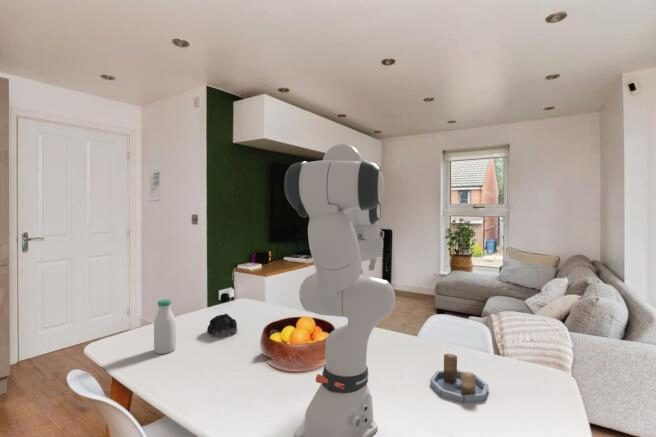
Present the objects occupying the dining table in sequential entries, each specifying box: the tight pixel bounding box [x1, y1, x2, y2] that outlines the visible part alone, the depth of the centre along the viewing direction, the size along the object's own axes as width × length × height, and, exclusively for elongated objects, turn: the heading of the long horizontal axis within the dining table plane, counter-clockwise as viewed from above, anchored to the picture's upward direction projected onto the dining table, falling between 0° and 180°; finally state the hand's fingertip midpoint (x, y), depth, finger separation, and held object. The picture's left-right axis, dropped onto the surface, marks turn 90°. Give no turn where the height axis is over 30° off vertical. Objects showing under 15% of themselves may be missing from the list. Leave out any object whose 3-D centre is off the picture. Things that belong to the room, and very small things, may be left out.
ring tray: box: [429, 369, 489, 403], centre depth 107 cm, size 16×16×3 cm
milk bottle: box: [153, 299, 177, 355], centre depth 136 cm, size 8×8×20 cm
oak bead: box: [461, 371, 477, 395], centre depth 103 cm, size 4×4×6 cm
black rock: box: [206, 313, 238, 338], centre depth 156 cm, size 13×14×10 cm
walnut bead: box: [443, 353, 458, 384], centre depth 111 cm, size 4×4×8 cm
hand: (365, 272), depth 123 cm, fingers open, 8 cm apart
